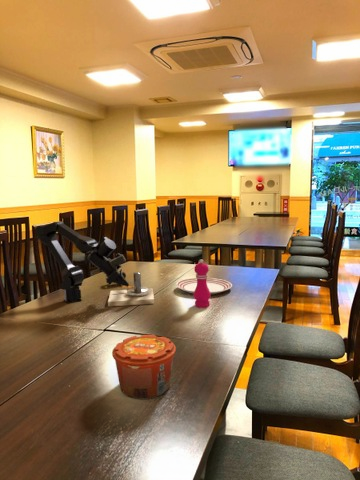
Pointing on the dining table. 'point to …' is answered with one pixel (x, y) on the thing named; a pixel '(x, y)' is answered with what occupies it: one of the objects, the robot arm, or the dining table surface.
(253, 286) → the dining table surface
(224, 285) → the dinner plate
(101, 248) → the robot arm
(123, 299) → the stand
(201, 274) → the pepper mill
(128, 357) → the food container
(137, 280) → the shiny grey rounded pieces
